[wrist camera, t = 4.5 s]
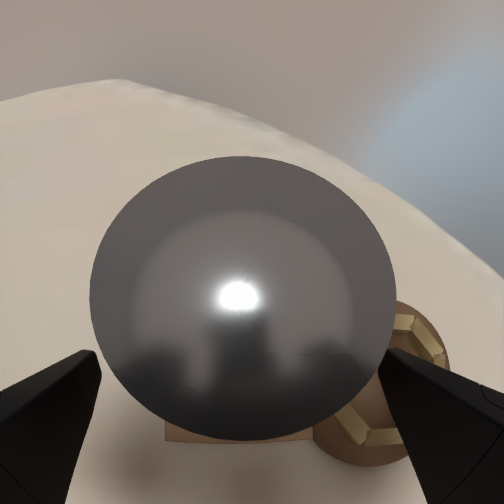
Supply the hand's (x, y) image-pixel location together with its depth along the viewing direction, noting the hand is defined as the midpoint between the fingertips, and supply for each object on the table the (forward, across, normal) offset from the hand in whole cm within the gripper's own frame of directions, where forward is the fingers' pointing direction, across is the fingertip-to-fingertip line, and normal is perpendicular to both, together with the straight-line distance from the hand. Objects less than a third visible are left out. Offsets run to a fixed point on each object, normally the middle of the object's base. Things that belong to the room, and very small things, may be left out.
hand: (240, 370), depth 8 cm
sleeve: (+6, 0, +5) cm, 8 cm away
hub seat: (+6, -9, +6) cm, 12 cm away
